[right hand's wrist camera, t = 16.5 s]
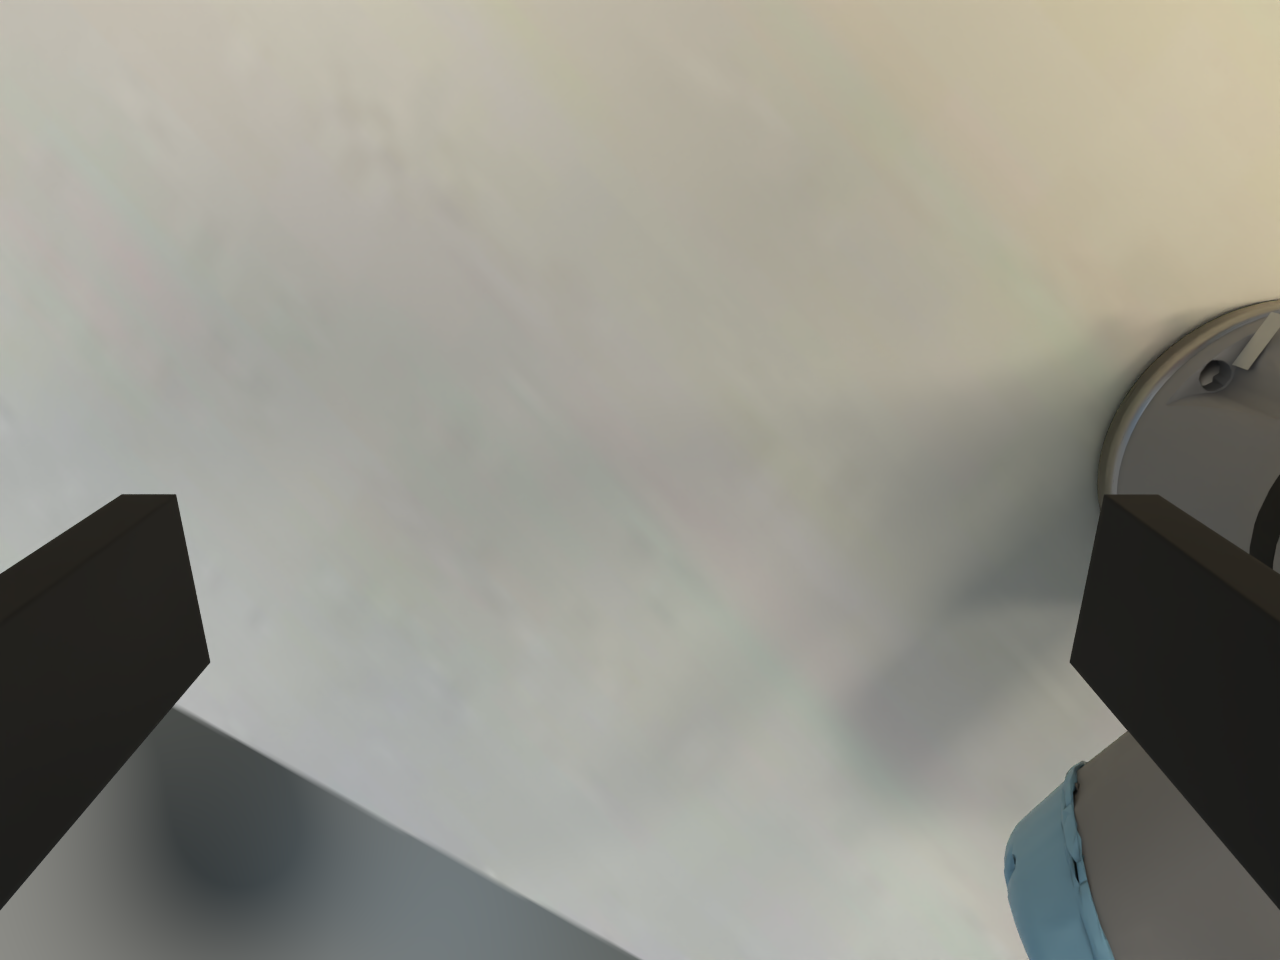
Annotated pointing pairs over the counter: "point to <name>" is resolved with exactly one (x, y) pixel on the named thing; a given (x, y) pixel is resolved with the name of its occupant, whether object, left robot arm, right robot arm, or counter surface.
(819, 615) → the counter surface
